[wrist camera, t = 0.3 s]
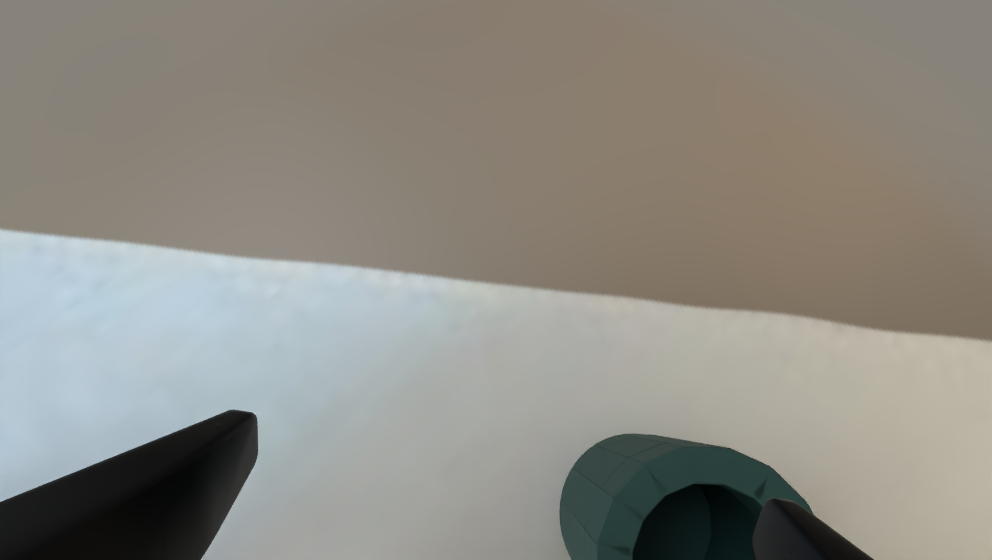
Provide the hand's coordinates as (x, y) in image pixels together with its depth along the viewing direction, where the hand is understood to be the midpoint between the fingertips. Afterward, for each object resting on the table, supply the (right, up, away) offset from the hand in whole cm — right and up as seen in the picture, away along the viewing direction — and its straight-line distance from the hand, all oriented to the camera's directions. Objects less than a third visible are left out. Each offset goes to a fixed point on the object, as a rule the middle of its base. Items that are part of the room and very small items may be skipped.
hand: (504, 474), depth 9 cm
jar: (+6, -7, +14) cm, 17 cm away
